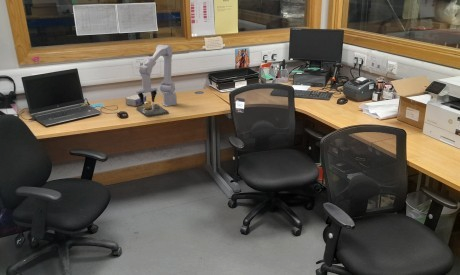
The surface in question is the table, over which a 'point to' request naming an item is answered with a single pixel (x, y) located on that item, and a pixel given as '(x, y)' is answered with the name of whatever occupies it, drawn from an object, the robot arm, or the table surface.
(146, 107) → the brass cylinder
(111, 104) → the table surface
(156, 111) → the fitting board
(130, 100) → the ink cartridge box
